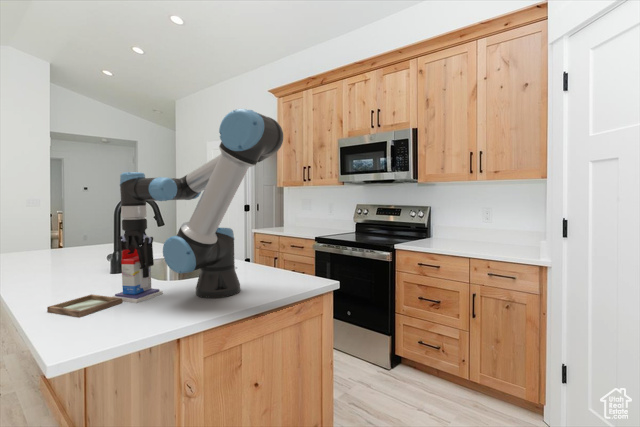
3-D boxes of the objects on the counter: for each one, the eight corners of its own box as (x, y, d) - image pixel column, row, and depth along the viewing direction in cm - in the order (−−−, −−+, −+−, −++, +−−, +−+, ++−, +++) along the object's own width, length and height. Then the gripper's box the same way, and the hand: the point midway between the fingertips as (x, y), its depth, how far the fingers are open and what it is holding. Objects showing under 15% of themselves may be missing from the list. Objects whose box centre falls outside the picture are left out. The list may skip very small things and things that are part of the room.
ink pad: (162, 293, 127) (162, 288, 126) (136, 302, 116) (136, 297, 116) (139, 291, 130) (138, 286, 130) (111, 299, 120) (111, 294, 120)
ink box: (135, 295, 119) (133, 251, 118) (122, 294, 120) (120, 250, 119) (152, 288, 127) (150, 246, 126) (139, 287, 128) (138, 246, 127)
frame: (122, 302, 117) (122, 298, 116) (79, 317, 103) (79, 312, 103) (91, 298, 122) (91, 294, 121) (47, 311, 109) (47, 307, 108)
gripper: (164, 218, 122) (166, 285, 123) (123, 217, 129) (126, 281, 130) (146, 219, 115) (149, 291, 116) (104, 218, 122) (107, 286, 123)
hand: (137, 286), depth 123 cm, fingers closed on ink box, 5 cm apart
